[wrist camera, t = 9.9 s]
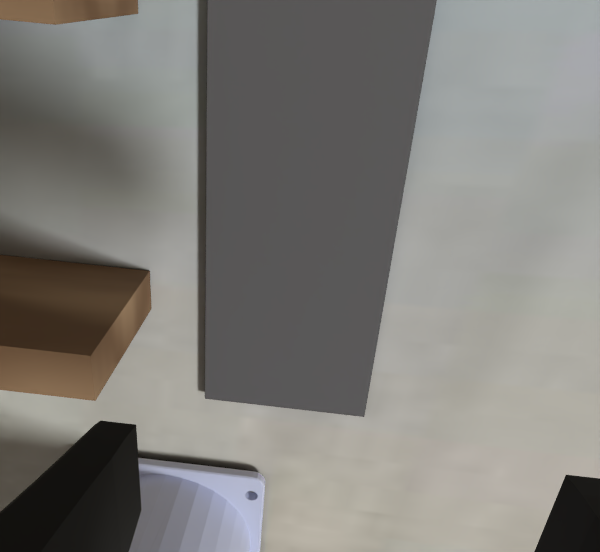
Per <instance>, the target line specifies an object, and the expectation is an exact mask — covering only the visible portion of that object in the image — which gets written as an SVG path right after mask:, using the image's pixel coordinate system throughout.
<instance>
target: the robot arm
mask: <svg viewBox="0 0 600 552" xmlns="http://www.w3.org/2000/svg"><path fill="white" fill-rule="evenodd" d="M249 491H253V492H255V493H252V492H249ZM264 493H265V478H264V477H263V475H261V474H260V473H258V472H254V471H247V470H238V469H230V468H221V467H213V466H204V465H196V464H187V463H179V462H170V461H162V460H153V459H145V458H138V448H137V433H136V425H133V424H124V423H116V422H107V421H100V422H98V423H97V424H95V425H94V426H93V427H92V428H91V429H90V430H89V431H88V432H87V433H86V434H85V435H84V436H83V437H81V438H80V439H79V440H78V441H77V442H76V443H75V444H74V445H73V446H72V447H71V448H70V449H69V450H68V451H67V452H66V453H65V454H64V455H63V456H61V457H60V458H59V459H58V460H57V461H56V462H55V463H54V464H53V465H52V466H51V467H50V468H49V469H48V470H47V471H45V472H44V473H43V474H42V475H41V476H40V477H39V478H38V479H37V480H36V481H35V482H34V483H32V484H31V485H30V486H29V487H28V488H27V489H26V490H25V491H23V492H22V493H21V494H20V495H19V496H18V497H17V498H16V499H14V500H13V501H12V502H11V503H10V504H9V505H8V506H7V507H5V508H4V509H3V510H2V511H1V512H0V552H260V546H261V532H262V519H263V506H264ZM535 552H600V479H598V478H589V477H580V476H572V475H566V476H565V479H564V481H563V484H562V486H561V488H560V491H559V493H558V496H557V498H556V501H555V503H554V505H553V508H552V510H551V513H550V515H549V518H548V520H547V523H546V525H545V527H544V530H543V532H542V535H541V537H540V540H539V542H538V544H537V547H536V549H535Z"/></svg>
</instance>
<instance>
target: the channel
mask: <svg viewBox="0 0 600 552" xmlns="http://www.w3.org/2000/svg"><path fill="white" fill-rule="evenodd" d="M131 14H138V0H0V19H3V20H13V21H24V22H34V23H44V24H55V25H56V24H63V23H71V22H78V21H86V20H94V19H101V18H109V17H116V16H124V15H131ZM150 310H151V291H150V271H145V270H136V269H127V268H118V267H108V266H99V265H90V264H81V263H71V262H62V261H53V260H44V259H35V258H25V257H16V256H7V255H0V390H7V391H16V392H25V393H33V394H42V395H51V396H59V397H68V398H77V399H85V400H94V401H96V399H97V397H98V396H99V394H100V392H101V391H102V389H103V387H104V386H105V384H106V382H107V381H108V379H109V377H110V376H111V374H112V373H113V371H114V369H115V368H116V366H117V364H118V363H119V361H120V359H121V358H122V356H123V354H124V353H125V351H126V350H127V348H128V346H129V345H130V343H131V341H132V340H133V338H134V336H135V335H136V333H137V331H138V330H139V328H140V327H141V325H142V323H143V322H144V320H145V318H146V317H147V315H148V313H149V312H150Z"/></svg>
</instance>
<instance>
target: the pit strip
mask: <svg viewBox="0 0 600 552" xmlns="http://www.w3.org/2000/svg"><path fill="white" fill-rule="evenodd" d="M436 1H437V0H208V14H207V163H206V311H205V399H214V400H222V401H231V402H240V403H248V404H257V405H266V406H275V407H283V408H292V409H301V410H309V411H318V412H327V413H336V414H344V415H353V416H362V417H364V415H365V409H366V403H367V398H368V392H369V386H370V380H371V375H372V369H373V363H374V357H375V352H376V346H377V340H378V334H379V329H380V323H381V317H382V311H383V306H384V300H385V294H386V288H387V283H388V277H389V271H390V265H391V260H392V254H393V248H394V242H395V237H396V231H397V225H398V219H399V214H400V208H401V202H402V197H403V191H404V185H405V179H406V174H407V168H408V162H409V156H410V151H411V145H412V139H413V133H414V128H415V122H416V116H417V110H418V105H419V99H420V93H421V87H422V82H423V76H424V70H425V64H426V59H427V53H428V47H429V41H430V36H431V30H432V24H433V18H434V13H435V7H436Z"/></svg>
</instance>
